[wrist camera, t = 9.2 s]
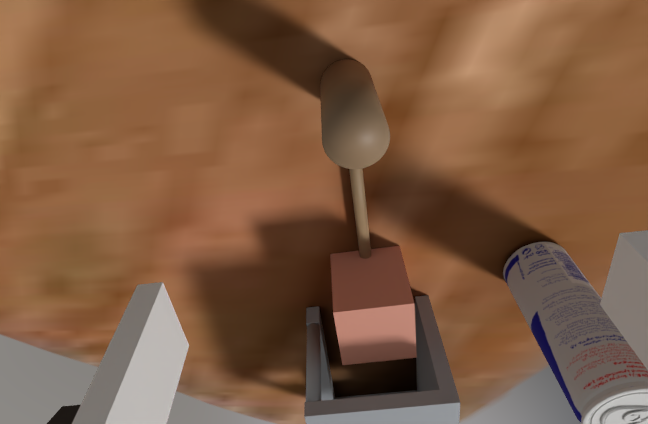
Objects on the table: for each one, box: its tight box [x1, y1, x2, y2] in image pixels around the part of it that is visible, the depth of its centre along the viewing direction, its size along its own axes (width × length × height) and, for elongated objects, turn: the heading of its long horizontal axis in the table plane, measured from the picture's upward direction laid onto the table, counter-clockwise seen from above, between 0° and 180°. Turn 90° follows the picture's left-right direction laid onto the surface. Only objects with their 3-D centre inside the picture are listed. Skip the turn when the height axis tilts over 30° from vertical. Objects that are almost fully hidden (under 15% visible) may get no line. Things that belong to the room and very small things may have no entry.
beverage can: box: [503, 242, 648, 424], centre depth 35 cm, size 6×6×15 cm
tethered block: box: [320, 59, 417, 365], centre depth 33 cm, size 22×6×9 cm, turn 8°
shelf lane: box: [304, 295, 460, 424], centre depth 43 cm, size 15×11×11 cm
